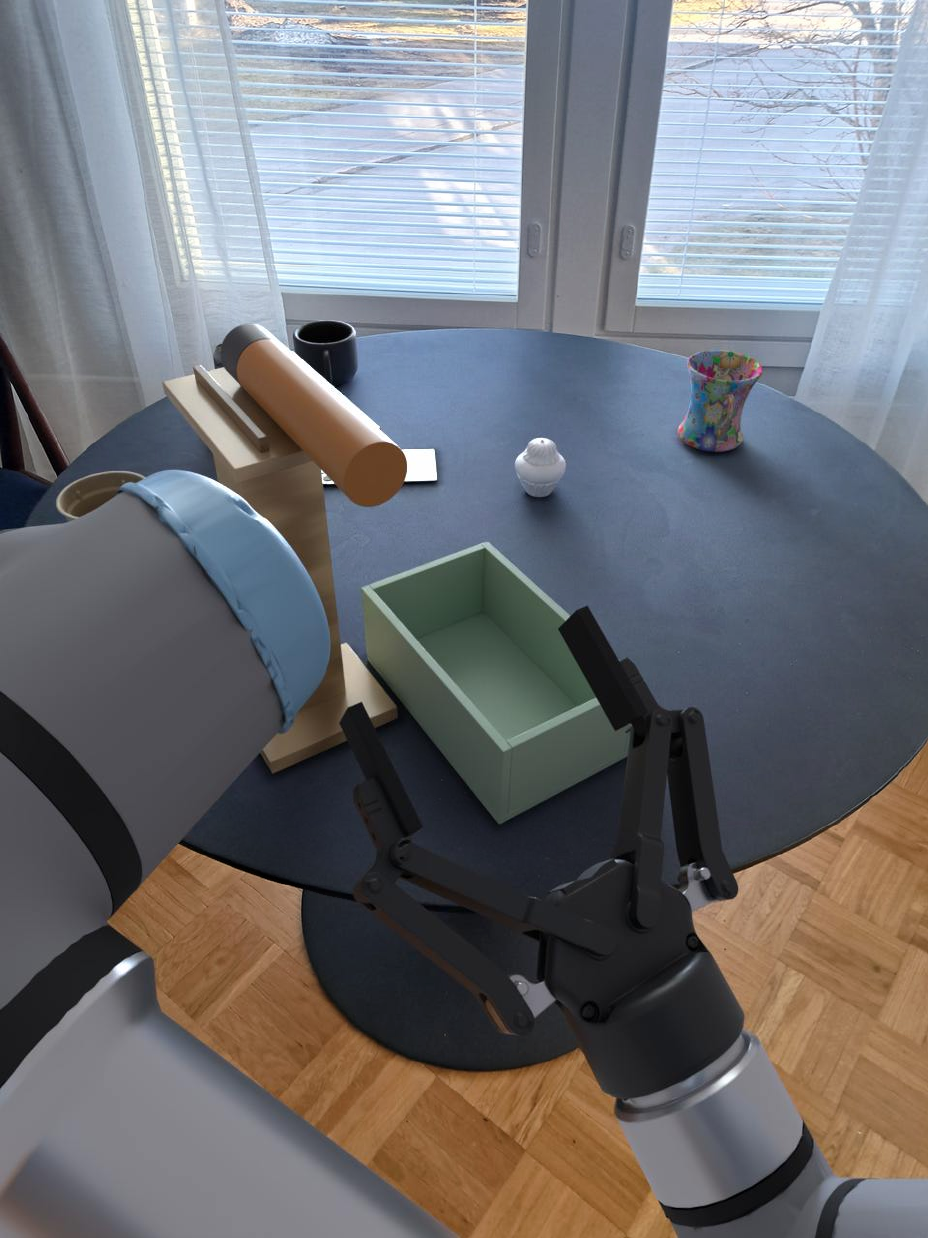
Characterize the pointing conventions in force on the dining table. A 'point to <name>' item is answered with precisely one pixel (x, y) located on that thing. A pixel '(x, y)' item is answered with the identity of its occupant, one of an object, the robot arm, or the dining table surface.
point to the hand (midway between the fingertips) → (467, 661)
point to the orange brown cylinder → (315, 416)
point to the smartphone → (411, 467)
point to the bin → (489, 677)
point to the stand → (294, 504)
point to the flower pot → (92, 492)
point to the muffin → (540, 467)
